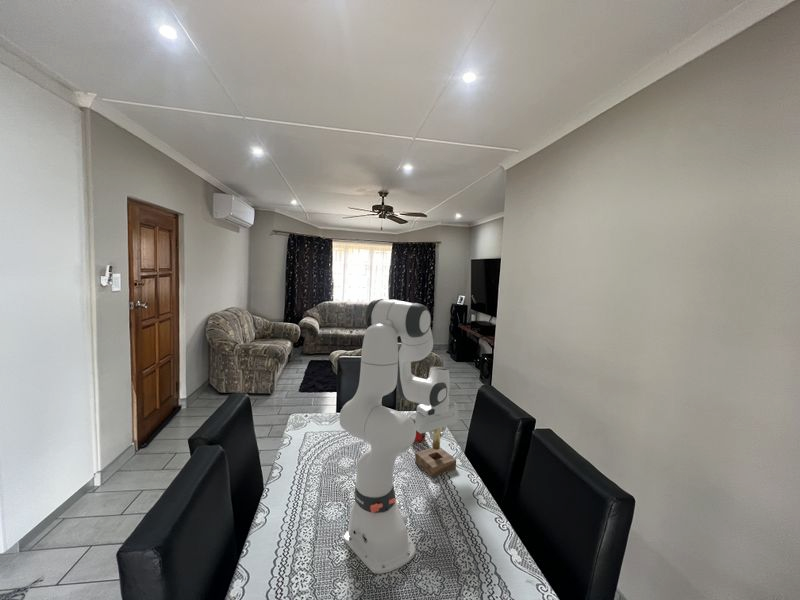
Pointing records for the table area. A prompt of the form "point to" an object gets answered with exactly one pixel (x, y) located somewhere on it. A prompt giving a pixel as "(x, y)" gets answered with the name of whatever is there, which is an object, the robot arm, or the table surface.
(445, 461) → the socket block
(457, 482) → the table surface
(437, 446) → the pin
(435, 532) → the table surface
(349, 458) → the table surface
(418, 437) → the canned food
